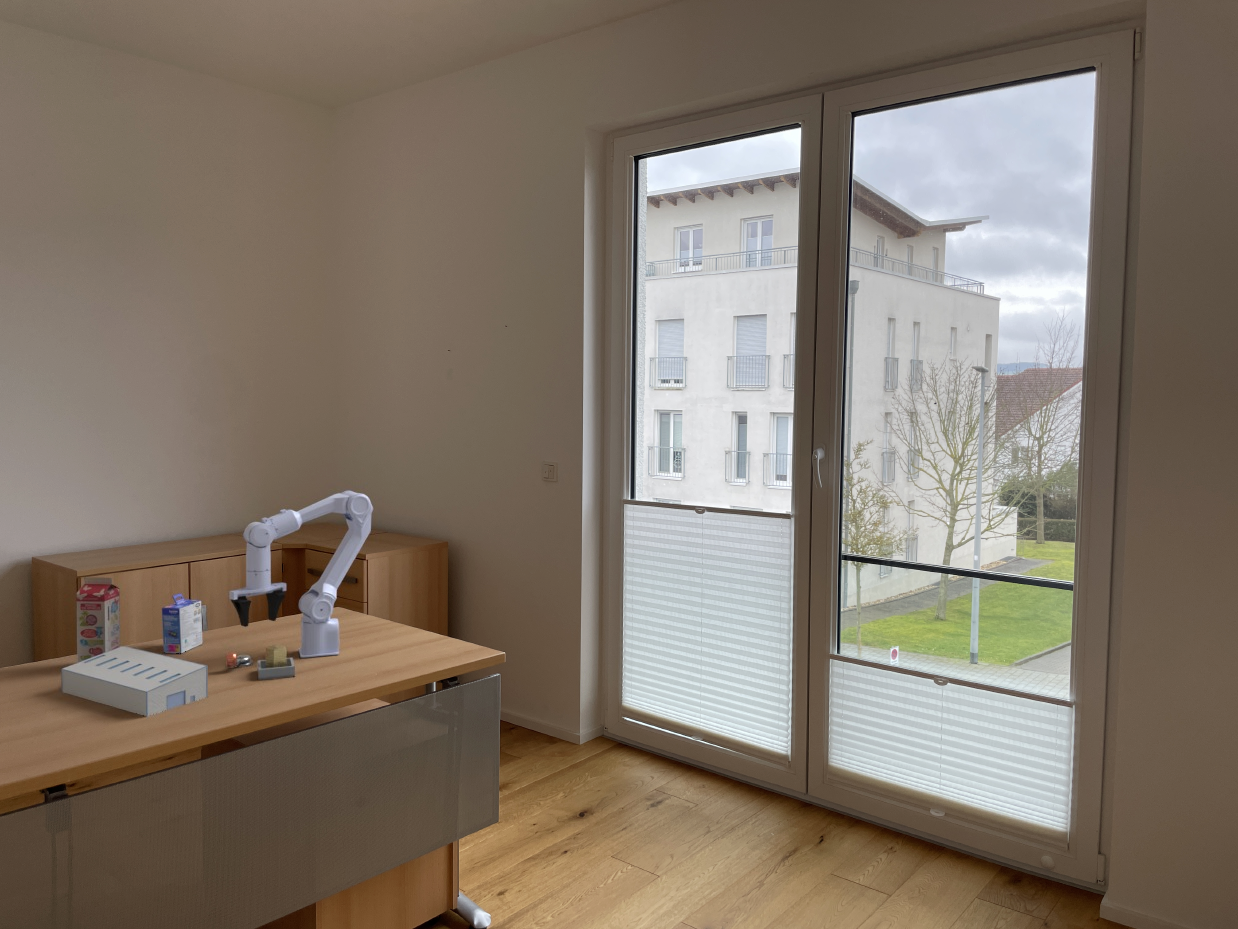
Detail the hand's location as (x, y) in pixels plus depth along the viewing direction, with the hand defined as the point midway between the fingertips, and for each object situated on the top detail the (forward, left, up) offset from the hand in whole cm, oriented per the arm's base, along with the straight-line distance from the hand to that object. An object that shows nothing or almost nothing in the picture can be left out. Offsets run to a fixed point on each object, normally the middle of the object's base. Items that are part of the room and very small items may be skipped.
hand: (258, 623), depth 219 cm
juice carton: (+36, -9, -10) cm, 38 cm away
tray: (-4, +12, -10) cm, 16 cm away
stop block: (-4, +12, -9) cm, 16 cm away
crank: (+5, +3, -9) cm, 11 cm away
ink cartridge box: (+18, -19, -10) cm, 28 cm away
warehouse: (+26, +17, -10) cm, 33 cm away
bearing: (+4, +1, -10) cm, 11 cm away
